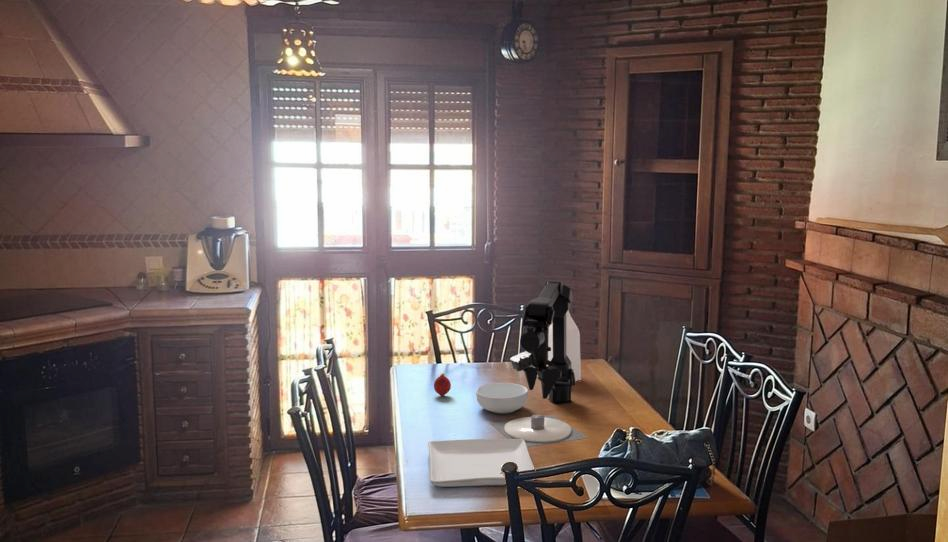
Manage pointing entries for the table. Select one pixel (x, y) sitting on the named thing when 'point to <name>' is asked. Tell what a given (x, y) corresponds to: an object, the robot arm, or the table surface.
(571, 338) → the milk
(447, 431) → the table surface
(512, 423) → the lid
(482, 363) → the table surface
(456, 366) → the table surface
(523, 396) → the cereal bowl
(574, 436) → the mat
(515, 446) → the square plate
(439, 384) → the onion
